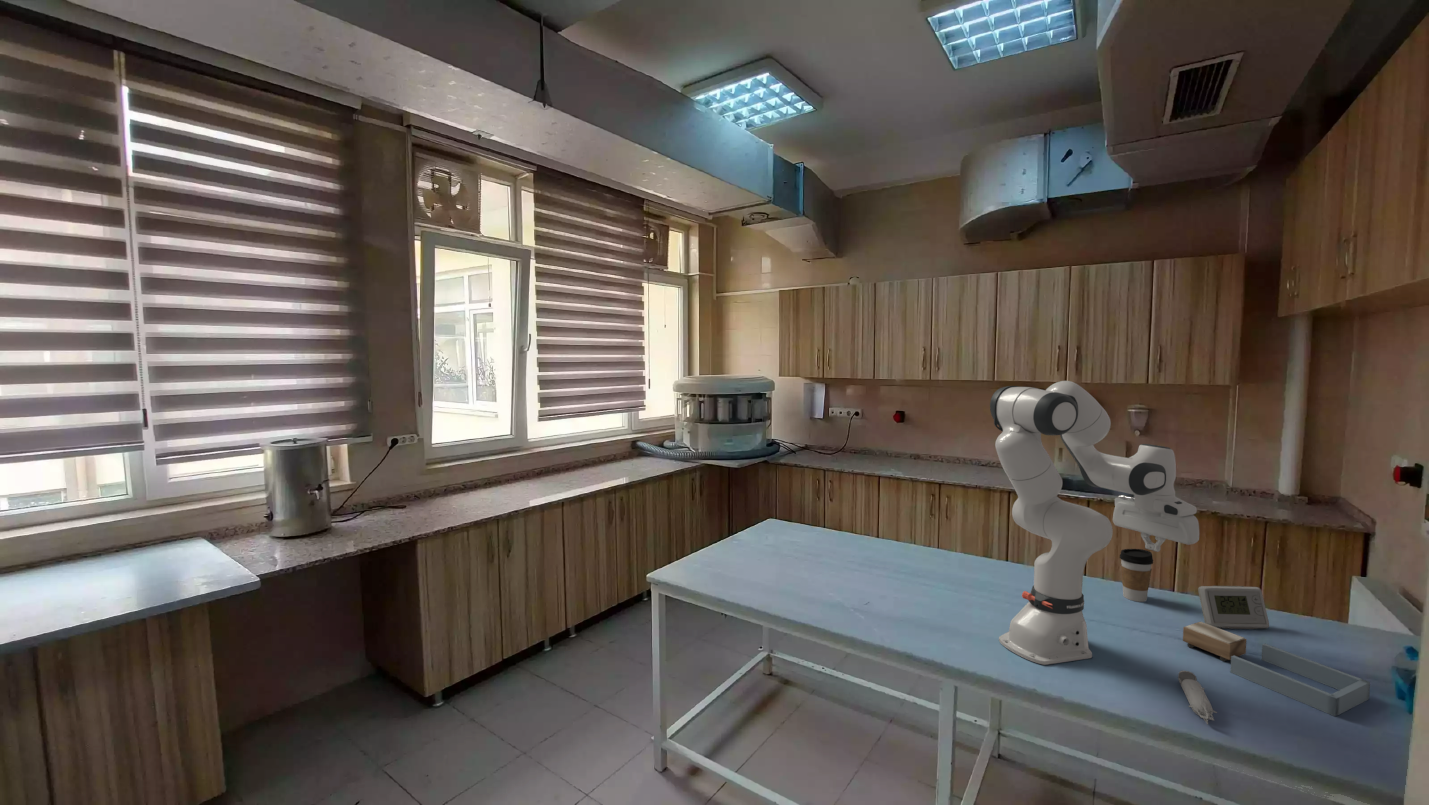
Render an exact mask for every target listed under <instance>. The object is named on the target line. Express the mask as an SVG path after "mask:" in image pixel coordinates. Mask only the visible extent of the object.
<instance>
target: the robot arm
mask: <svg viewBox="0 0 1429 805" xmlns="http://www.w3.org/2000/svg"><path fill="white" fill-rule="evenodd" d="M989 409H990V415H991V417H992V419H993V425H994V426H995V427H996V428H997V430H999V431H1000V432H1001V433H1000V434H998V436H997V438H996V440H995V443H994V444H995V446H994V447H995V451H996V453H997V456H998V460H999V462H1000V465H1001V467H1002V469H1003V471H1004V473H1005V474H1006V476H1007V478H1008V480H1009V481H1010V483H1011V486H1012V487H1013V488H1014V489H1013V490H1014V491H1015V492H1016V495H1017V499H1016V500H1015V501H1014V503H1013V505H1012V509H1011V515H1012V519H1013V521H1014V523H1015V524H1016V525H1017V526H1019V527H1021V528H1022V529H1024V530H1025V531H1028V532H1029V533H1031V534H1033V535H1036V536H1039V537H1042V538H1044V539H1048V540H1051V548H1050V551H1048V552H1044V553H1042V554H1040V555H1039V556H1037V557H1036V558H1035V560H1034V562H1033V563H1034V565H1033V566H1034V568H1033V569H1034V570H1033V585H1032V587H1031V590H1030V592H1028V591H1026V590H1024V591H1022V594H1021V597H1022V598H1023V599H1025V600H1028V602H1027V603H1026V604H1025V605H1024V606H1023V607H1022V609H1020V611H1019V612H1018V613H1017V614H1016V615H1014V617H1013V618H1012V619H1011V620H1010V623H1009V628H1008V631H1007V632H1005V633H1003V634H1001V635H1000V636H999V637H998V641H999V643H1000V644H1001V645H1002V646H1003V647H1005V648H1006V649H1008V650H1009V651H1010V652H1012V653H1013V654H1015V655H1017V656H1019V657H1022V658H1023V659H1026V660H1028V661H1030V662H1033V663H1036V664H1039V665H1043V666H1045V665H1053V664H1059V663H1060V664H1061V663H1067V662H1072V661H1079V660H1087V659H1091V658H1092V657H1093V653H1092V651H1091V649H1090V648H1089V637H1088V628H1087V622H1086V619H1085V617H1084V614H1083V610H1085V609H1084V608H1085V607H1084V606H1085V598H1084V596H1085V595H1084V594H1083V581H1084V580H1083V579H1084V578H1083V577H1084V570H1085V567H1086V564H1087V562H1088V560H1089V558H1090V557H1091V556H1092V555H1093V554H1095V553H1098V552H1099V551H1102V550H1103V549H1104V548H1106V547H1107V546H1108V545H1109V544H1110V542H1111V540H1112V539H1113V538H1112V537H1113V533H1114V532H1113V524H1114V526H1115V527H1120V528H1124V529H1126V530H1131V531H1136V532H1139V533H1140V537H1141V539H1142V541H1143V542H1144V546H1145V547H1144V549H1145V550H1149V551H1151V552H1152V551H1153V552H1160V551H1161V546H1162V544H1163V543H1165V542H1166V540H1169V541H1172V542H1177V543H1180V544H1184V545H1187V546H1189V545H1194V544H1196V543H1198V541H1200V523H1199V520H1198V518H1197V517H1196V516H1195V514H1197V511H1198V509H1197V507H1196V506H1195V505H1193V504H1191V503H1189V502H1187V501H1185V500H1183V499H1181V498H1179V497H1177V496H1176V490H1175V486H1174V484H1175V481H1176V478H1177V465H1176V454H1175V452H1174V450H1173V449H1172V448H1171V447H1168V446H1164V445H1157V444H1155V445H1154V444H1150V443H1142V444H1140V445H1139V446H1138V449H1137V452H1136V453H1135V454H1133V455H1132V456H1129V457H1126V456H1125V457H1123V456H1119V455H1112V454H1108V453H1103V452H1101V451H1099V450H1098V449H1097V448H1095V444H1098V443H1099V442H1101V441H1102V440H1103V439H1104V438H1106V436H1108V434H1109V431H1110V430H1111V422H1112V421H1111V418H1110V416H1109V415H1108V412H1107V411H1106V409H1104V407H1103V406H1102V405H1101V404H1100V403H1099V402H1098V400H1097V399H1096V398H1095V397H1093V395H1091V394H1090V393H1089V392H1088V391H1087V390H1085V388H1083V387H1082V386H1081V385H1079V384H1078V383H1076V382H1073V381H1071V380H1061V381H1057V382H1055V383H1053V384H1051V385H1050V386H1048V387H1047V388H1046V389H1040V388H1037V387H1033V386H1032V387H1031V386H1018V385H1007V386H1003V387H999V388H998V389H997V390H995V392H993V394H992V396H991V398H990V402H989ZM1042 435H1045V436H1060V439H1061V442H1062V443H1063V444H1064V446H1065V448H1066V449H1067V451H1068V452H1069V454H1070V455H1071V457H1072V458H1073V459H1074V461H1075V462H1076V464H1077V466H1078V468H1079V471H1080V474H1081V477H1082V479H1083V480H1084V481H1085V483H1086V484H1087V485H1088V486H1091V487H1094V488H1099V489H1105V490H1106V489H1107V490H1111V491H1115V492H1120V493H1126V494H1130V495H1134V497H1133V496H1127V495H1125V494H1121V495H1118V496H1116V497H1115V498H1114V506H1115V507H1114V509H1113V513H1112V514H1113V515H1112V522H1113V524H1112V523H1111V520H1110V519H1109V518H1108V517H1107V516H1106V515H1104V514H1102V513H1101V512H1099V511H1097V510H1095V509H1093V508H1091V507H1088V506H1085V505H1080V504H1077V503H1072V502H1069V501H1066V500H1063V499H1061V498H1060V497H1058V495H1059V494H1060V493H1061V491H1062V488H1063V478H1062V477H1061V475H1060V473H1059V471H1058V469H1057V467H1056V465H1055V464H1054V461H1053V460H1052V459H1051V456H1050V455H1049V453H1048V451H1047V450H1046V449H1045V447H1044V445H1043V442H1042ZM1151 536H1154V540H1156V542H1155V543H1154V542H1153V541H1152V540H1151Z"/></svg>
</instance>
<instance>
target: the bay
mask: <svg viewBox="0 0 1429 805" xmlns="http://www.w3.org/2000/svg"><path fill="white" fill-rule="evenodd" d="M1260 658H1261V661H1264V662H1266V663H1268V664H1271V665H1273V666H1275V667H1276V666H1277V667H1279V668H1281V669H1284V670H1286V671H1289V672H1292V673H1294V674H1296V675H1300V676H1302V677H1305V678H1307V679H1309V680H1313V681H1315V682H1317V683H1320V684H1323V685H1324V686H1327V687H1330V688H1333V689H1336V690H1337V691H1335V692H1333V693H1329V692H1327V691H1326V690H1325V691H1324V690H1323V689H1321V688H1320V689H1319V688H1318V687H1314V686H1312V685H1309V684H1308V683H1305V682H1302V681H1300V680H1297V679H1294V678H1293V677H1290V676H1287V675H1285V674H1282V673H1279V672H1276V671H1275V670H1272V669H1269V668H1266V667H1265V666H1261V665H1259V664H1257V663H1255V662H1252V661H1249V660H1247V659H1244V658H1243V657H1242V658H1241V657H1240V656H1238V657H1237V656H1231V660H1230V669H1229V670H1230V673H1231V674H1233V675H1236V676H1239V677H1241V678H1243V679H1245V680H1248V681H1249V682H1252V683H1255V684H1257V685H1258V686H1259V685H1260V686H1262V687H1264V688H1267V689H1269V690H1272V691H1274V692H1276V693H1278V694H1281V695H1283V696H1285V697H1287V698H1291V699H1293V700H1295V701H1297V702H1299V703H1302V704H1304V705H1306V706H1309V707H1311V708H1314V709H1316V710H1319V711H1321V712H1323V713H1326V714H1328V715H1331V716H1333V717H1338V716H1339V715H1342V714H1344V713H1345V712H1347V711H1349V710H1350V709H1353V708H1355V707H1357V706H1358V705H1361V704H1362V703H1365V702H1366V701H1368V700H1370V694H1371V693H1370V689H1371V681H1368V680H1366V679H1362V678H1360V677H1358V676H1354V675H1352V674H1349V673H1347V672H1343V671H1341V670H1338V669H1336V668H1333V667H1330V666H1327V665H1324V664H1322V663H1319V662H1317V661H1313V660H1311V659H1308V658H1305V657H1303V656H1300V655H1298V654H1295V653H1292V652H1289V651H1287V650H1284V649H1281V648H1279V647H1276V646H1273V645H1270V644H1268V643H1263V644H1261V657H1260Z"/></svg>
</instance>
